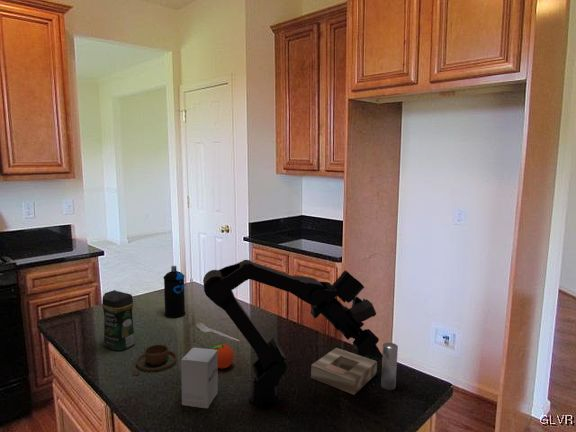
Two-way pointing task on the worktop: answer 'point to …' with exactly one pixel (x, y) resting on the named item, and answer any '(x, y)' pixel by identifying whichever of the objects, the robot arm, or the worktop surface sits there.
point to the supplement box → (199, 377)
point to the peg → (389, 366)
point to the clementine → (224, 355)
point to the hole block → (344, 370)
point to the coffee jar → (118, 320)
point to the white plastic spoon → (214, 331)
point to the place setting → (155, 358)
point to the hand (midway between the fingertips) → (374, 349)
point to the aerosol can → (174, 294)
